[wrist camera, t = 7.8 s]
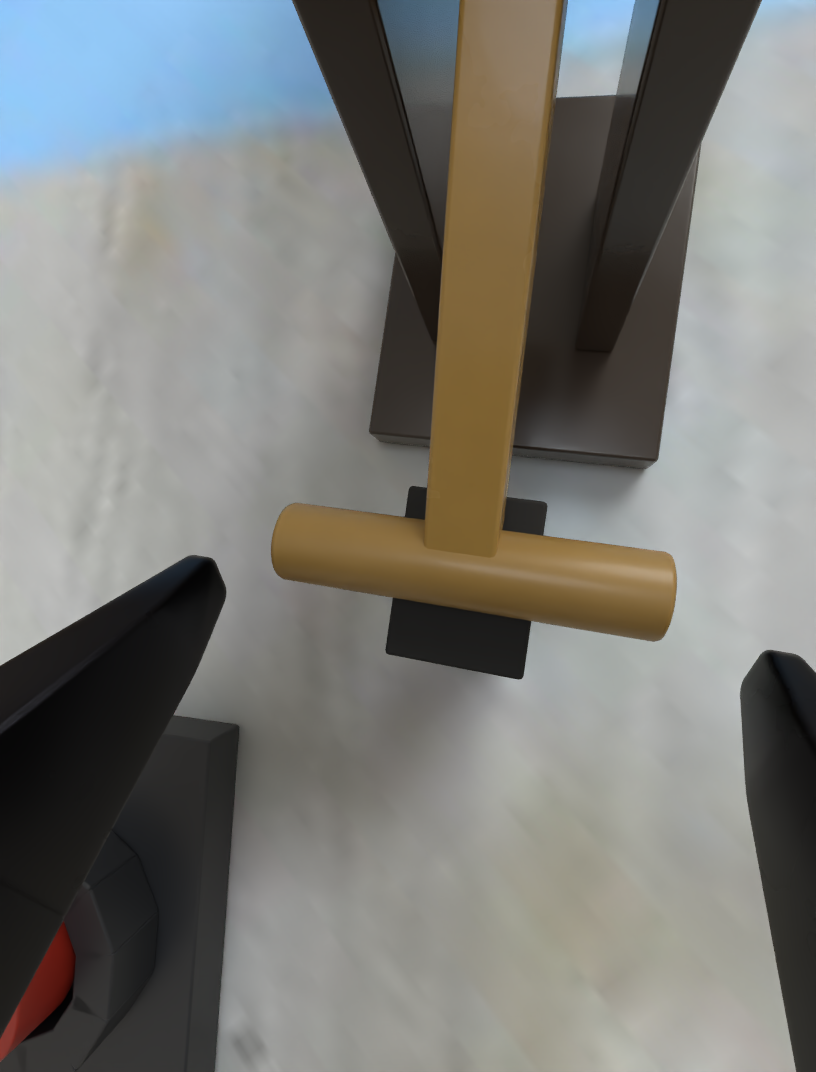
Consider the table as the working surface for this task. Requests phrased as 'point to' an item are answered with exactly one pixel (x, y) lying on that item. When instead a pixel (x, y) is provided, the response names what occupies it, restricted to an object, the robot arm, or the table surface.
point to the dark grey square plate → (150, 921)
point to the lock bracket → (566, 222)
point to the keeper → (465, 613)
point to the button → (42, 992)
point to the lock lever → (486, 379)
